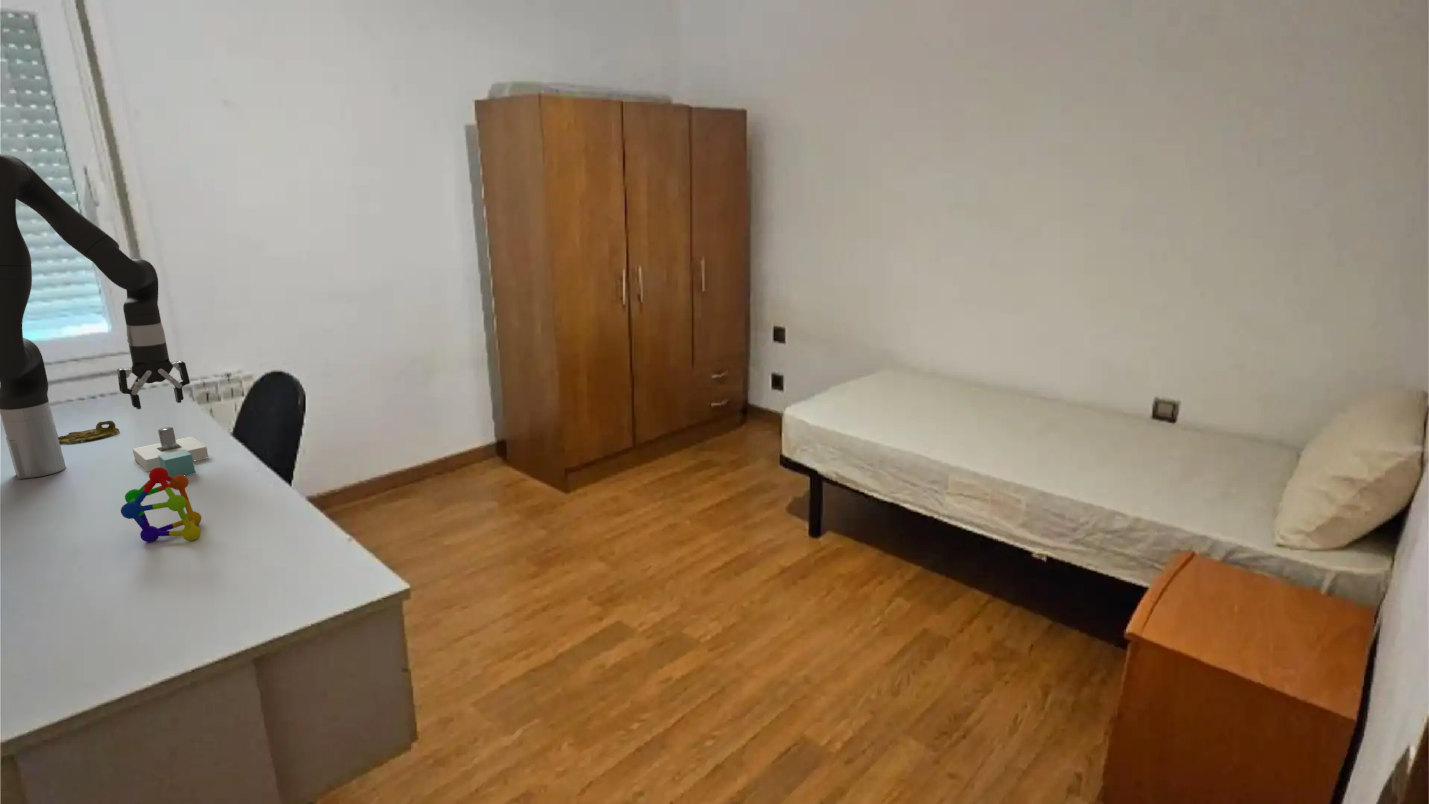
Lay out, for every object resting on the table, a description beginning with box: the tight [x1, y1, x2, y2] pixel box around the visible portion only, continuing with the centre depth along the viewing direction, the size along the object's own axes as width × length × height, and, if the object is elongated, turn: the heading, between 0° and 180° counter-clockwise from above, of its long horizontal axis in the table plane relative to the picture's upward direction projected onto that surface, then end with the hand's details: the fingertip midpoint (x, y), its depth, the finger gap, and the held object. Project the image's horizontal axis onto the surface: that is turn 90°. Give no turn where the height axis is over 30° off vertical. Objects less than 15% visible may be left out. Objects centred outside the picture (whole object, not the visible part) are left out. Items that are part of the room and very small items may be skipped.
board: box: [132, 436, 209, 473], centre depth 200 cm, size 13×13×3 cm
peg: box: [157, 426, 177, 451], centre depth 199 cm, size 3×3×8 cm
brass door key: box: [58, 420, 120, 445], centre depth 218 cm, size 9×5×15 cm
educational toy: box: [120, 467, 202, 543], centre depth 153 cm, size 16×13×15 cm
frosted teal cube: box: [158, 449, 196, 477], centre depth 189 cm, size 6×6×5 cm
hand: (159, 405), depth 196 cm, fingers open, 8 cm apart
